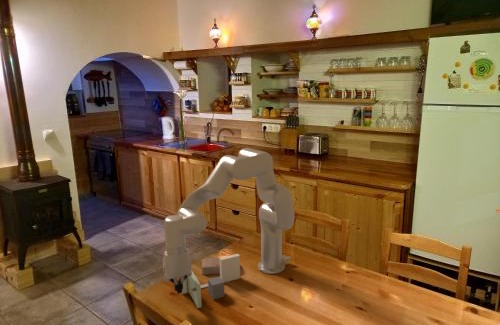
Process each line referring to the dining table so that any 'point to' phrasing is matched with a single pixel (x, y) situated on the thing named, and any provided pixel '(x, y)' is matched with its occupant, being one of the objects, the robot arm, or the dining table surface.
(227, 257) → the wall frame
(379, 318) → the dining table surface
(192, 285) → the door
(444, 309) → the dining table surface
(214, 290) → the grey block
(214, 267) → the brick
